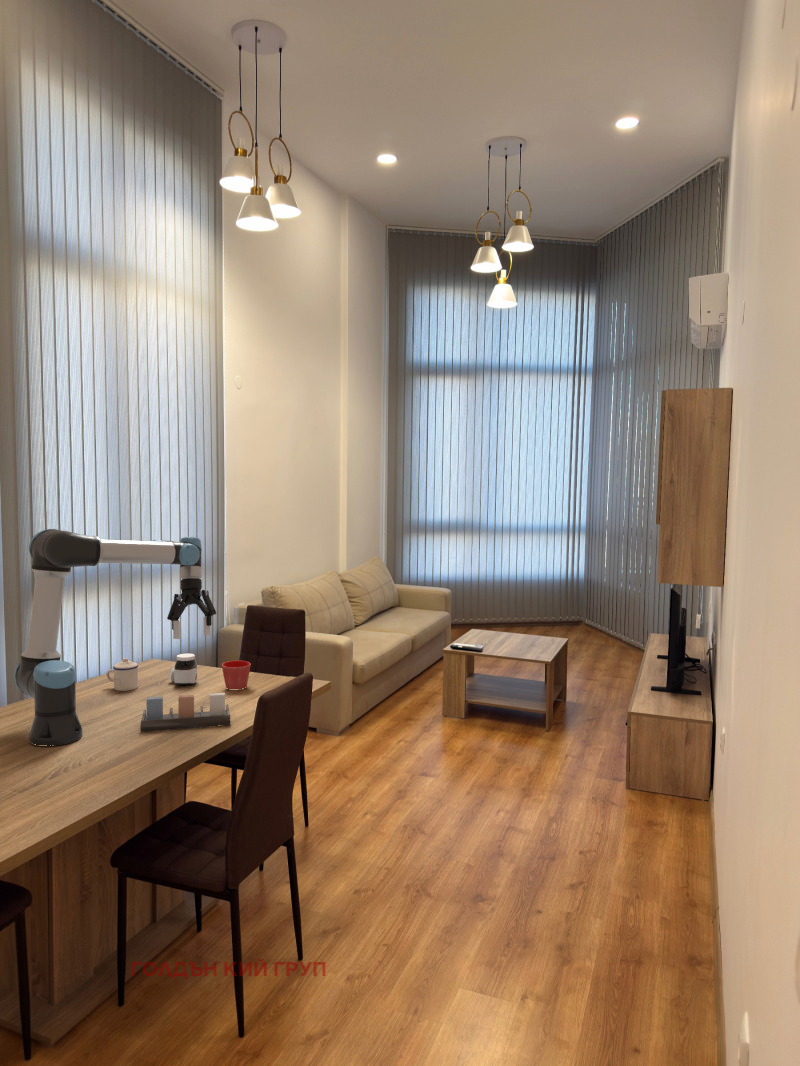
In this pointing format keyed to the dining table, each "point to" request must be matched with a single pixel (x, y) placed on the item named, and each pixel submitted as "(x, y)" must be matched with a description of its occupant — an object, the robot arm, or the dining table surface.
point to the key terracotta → (186, 706)
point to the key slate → (154, 708)
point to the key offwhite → (217, 703)
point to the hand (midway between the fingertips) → (191, 637)
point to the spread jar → (184, 670)
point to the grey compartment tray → (184, 721)
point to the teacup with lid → (124, 675)
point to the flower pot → (236, 674)
